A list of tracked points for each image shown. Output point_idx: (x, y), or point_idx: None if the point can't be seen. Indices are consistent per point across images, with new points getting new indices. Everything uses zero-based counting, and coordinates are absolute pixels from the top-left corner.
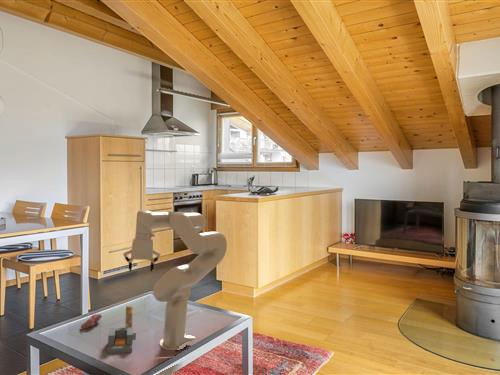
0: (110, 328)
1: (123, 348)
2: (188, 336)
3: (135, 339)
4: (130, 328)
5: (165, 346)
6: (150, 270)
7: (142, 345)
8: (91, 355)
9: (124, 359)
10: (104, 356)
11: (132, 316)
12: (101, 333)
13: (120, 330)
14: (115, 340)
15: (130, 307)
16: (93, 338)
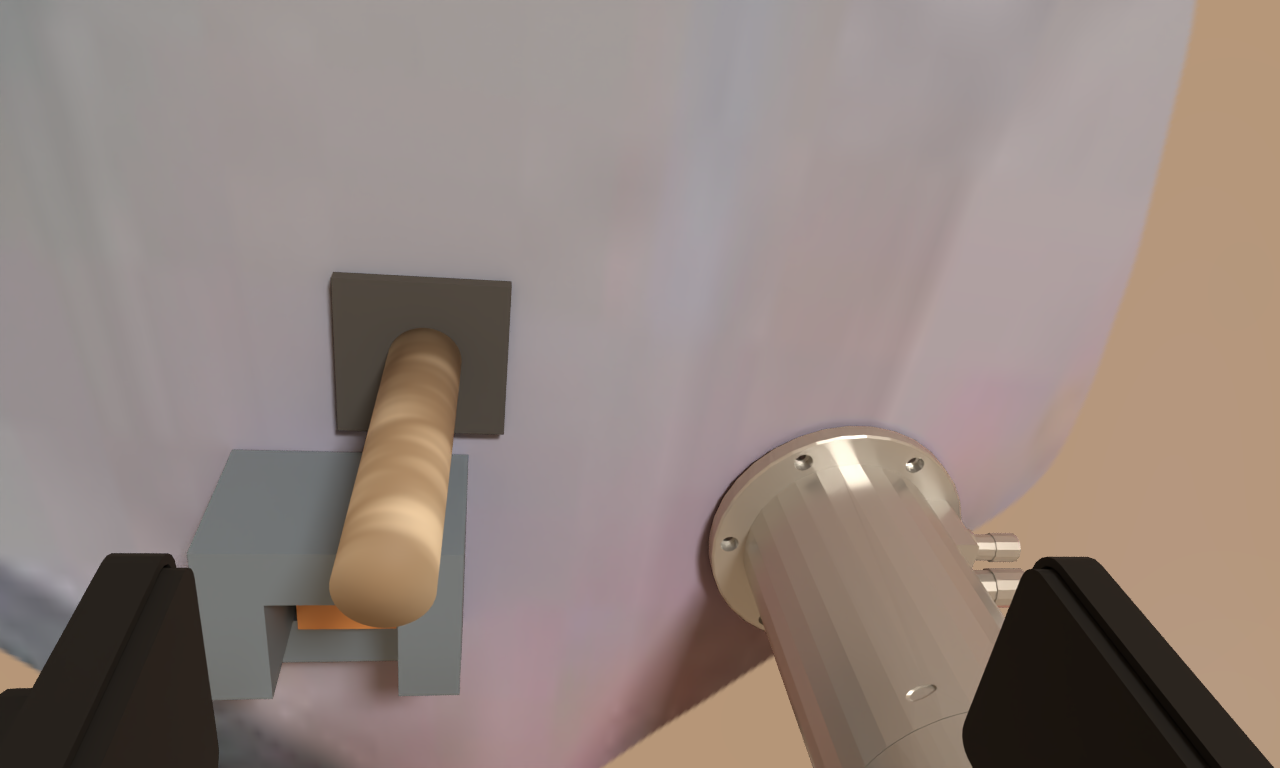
0: (198, 560)
1: (385, 657)
2: (986, 559)
3: (501, 429)
4: None
5: (749, 602)
6: (977, 749)
7: (562, 511)
8: None
9: None
10: None
11: (446, 499)
12: (95, 203)
13: (322, 603)
14: None
15: (398, 611)
16: (32, 320)
